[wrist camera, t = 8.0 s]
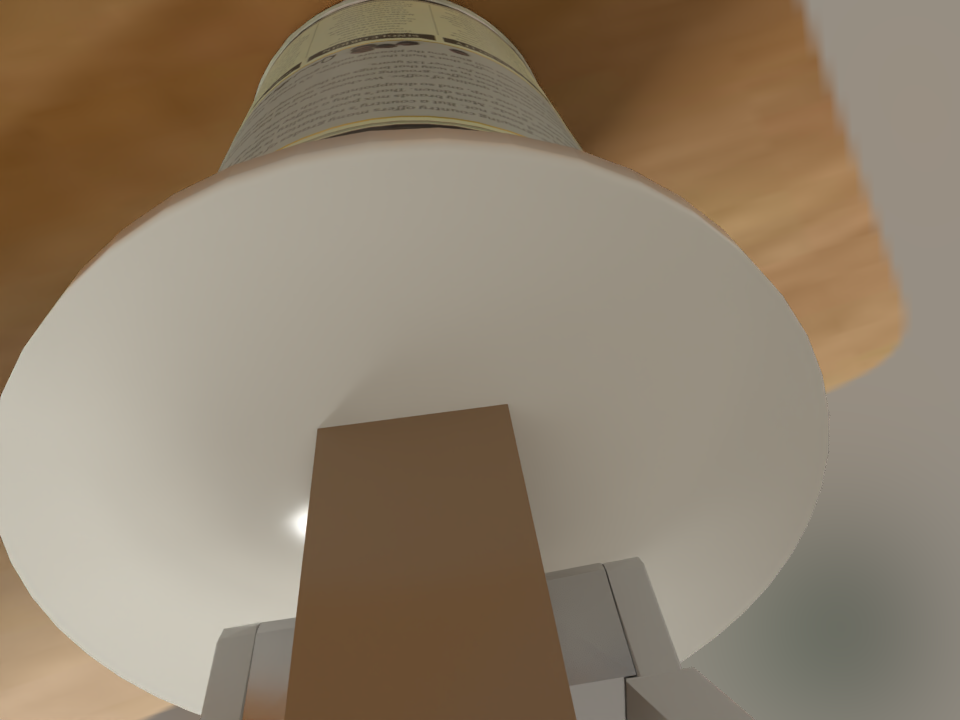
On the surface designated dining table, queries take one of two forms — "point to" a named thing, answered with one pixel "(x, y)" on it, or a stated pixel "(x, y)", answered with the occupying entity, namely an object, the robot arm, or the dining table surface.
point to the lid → (406, 423)
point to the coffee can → (394, 79)
